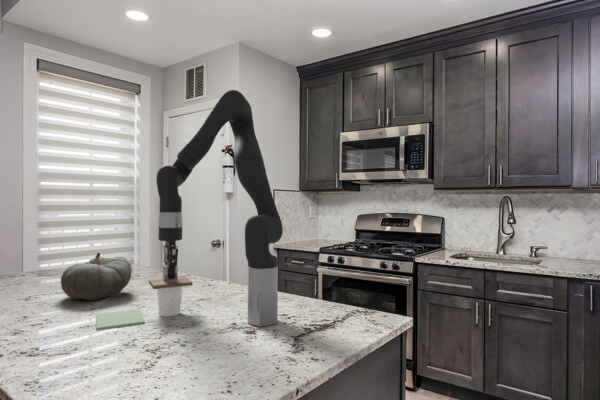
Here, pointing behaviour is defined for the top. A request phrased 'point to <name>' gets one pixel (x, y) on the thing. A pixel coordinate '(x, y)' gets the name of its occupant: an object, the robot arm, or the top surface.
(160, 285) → the lid
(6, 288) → the top surface
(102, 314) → the mat
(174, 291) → the white cup
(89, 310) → the top surface
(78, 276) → the gourd
